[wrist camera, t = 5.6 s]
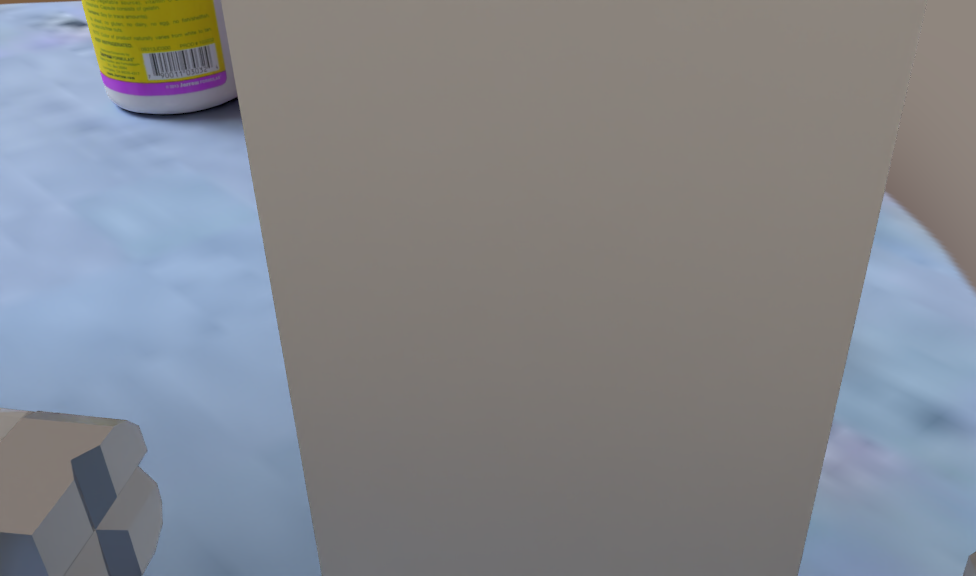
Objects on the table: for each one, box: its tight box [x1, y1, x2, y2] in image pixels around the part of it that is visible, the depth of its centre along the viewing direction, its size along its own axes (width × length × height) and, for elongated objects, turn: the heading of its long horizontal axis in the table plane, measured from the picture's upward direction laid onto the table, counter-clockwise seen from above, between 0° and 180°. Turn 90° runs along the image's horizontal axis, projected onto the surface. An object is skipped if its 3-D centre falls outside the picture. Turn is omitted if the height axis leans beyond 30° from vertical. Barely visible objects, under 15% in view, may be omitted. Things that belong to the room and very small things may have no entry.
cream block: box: [221, 0, 927, 576], centre depth 11 cm, size 4×5×14 cm
